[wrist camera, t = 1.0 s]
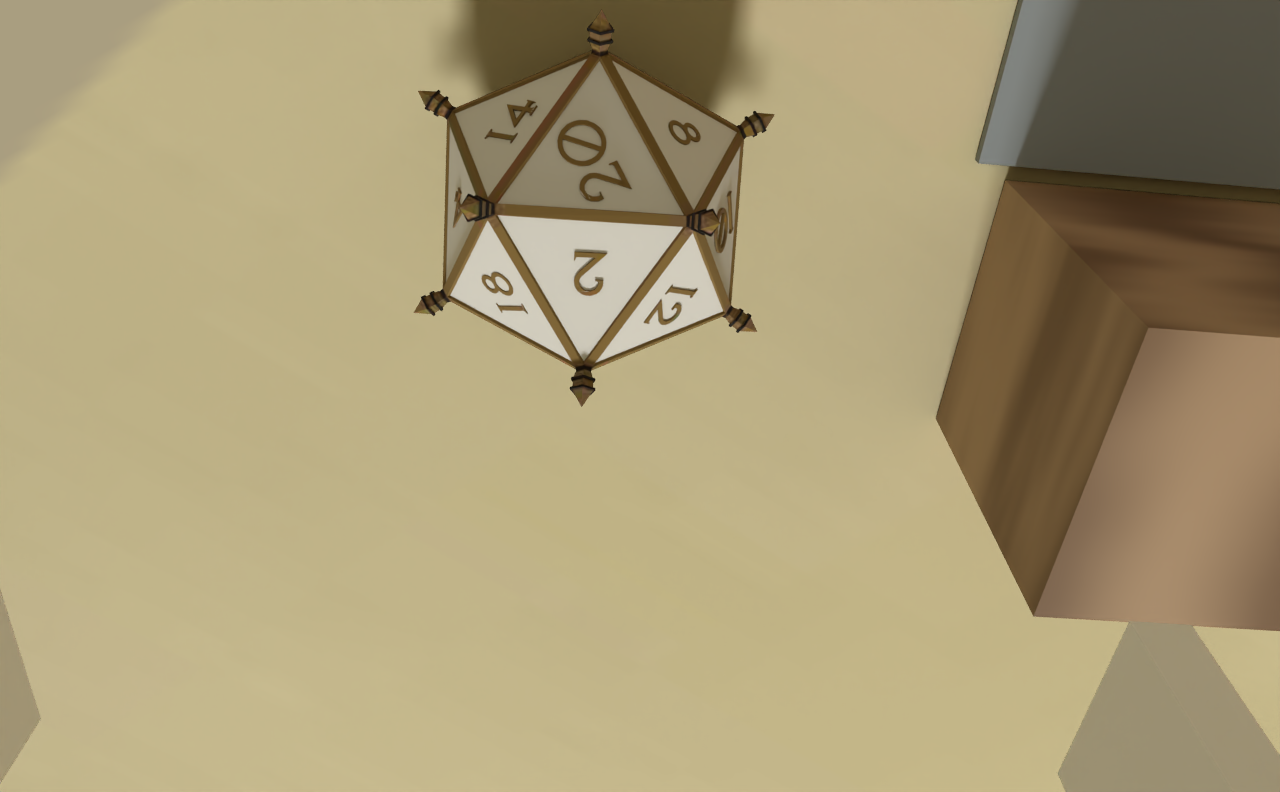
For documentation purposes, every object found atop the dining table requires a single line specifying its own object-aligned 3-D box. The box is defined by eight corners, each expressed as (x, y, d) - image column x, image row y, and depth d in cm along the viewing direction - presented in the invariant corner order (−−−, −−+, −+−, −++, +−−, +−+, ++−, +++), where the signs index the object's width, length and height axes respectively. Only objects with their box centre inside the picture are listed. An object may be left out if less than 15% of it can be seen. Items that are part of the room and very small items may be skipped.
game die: (534, 112, 31) (270, 60, 22) (789, 11, 26) (585, -105, 18) (596, 397, 31) (358, 455, 22) (859, 343, 27) (691, 388, 18)
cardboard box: (936, 418, 32) (1033, 616, 25) (1005, 180, 28) (1148, 327, 20) (1263, 442, 33) (1458, 641, 25) (1377, 212, 29) (1652, 366, 21)
